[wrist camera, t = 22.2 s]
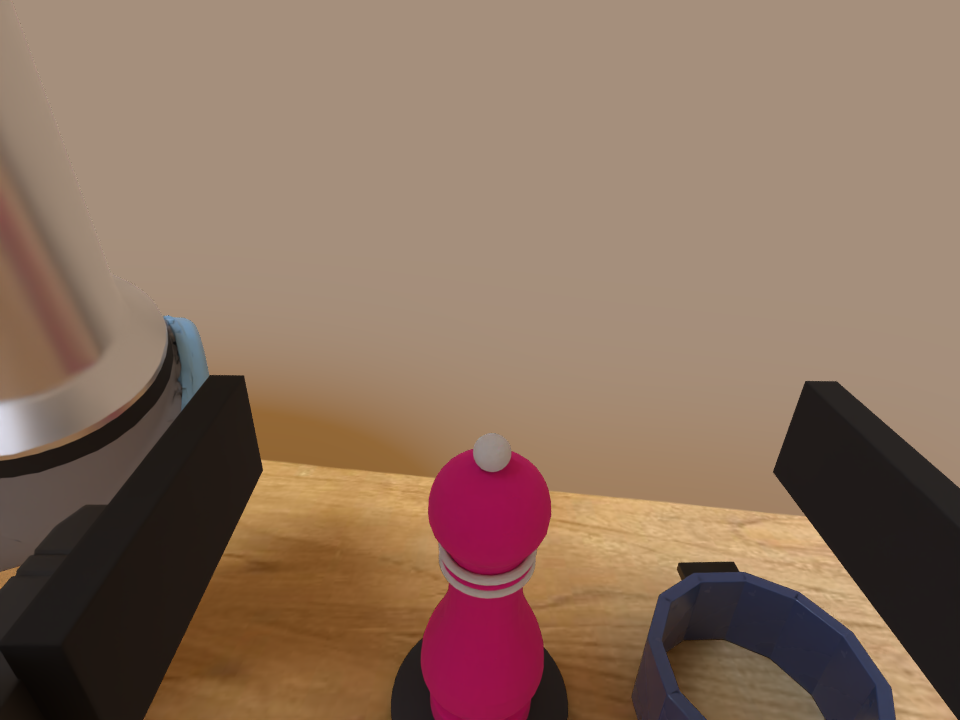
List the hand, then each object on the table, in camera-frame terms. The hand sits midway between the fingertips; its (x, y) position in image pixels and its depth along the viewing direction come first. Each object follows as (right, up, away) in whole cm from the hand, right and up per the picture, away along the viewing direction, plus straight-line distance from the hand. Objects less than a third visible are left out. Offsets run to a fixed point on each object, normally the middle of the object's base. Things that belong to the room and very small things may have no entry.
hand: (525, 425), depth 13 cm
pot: (+15, -21, +21) cm, 33 cm away
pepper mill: (-1, -20, +22) cm, 29 cm away
